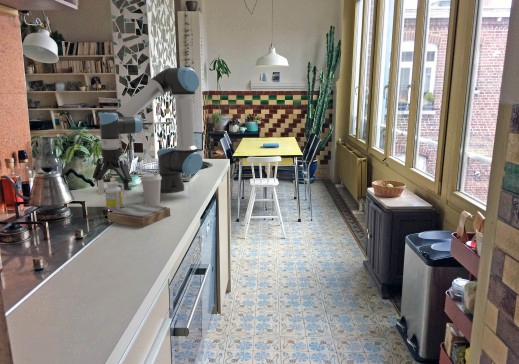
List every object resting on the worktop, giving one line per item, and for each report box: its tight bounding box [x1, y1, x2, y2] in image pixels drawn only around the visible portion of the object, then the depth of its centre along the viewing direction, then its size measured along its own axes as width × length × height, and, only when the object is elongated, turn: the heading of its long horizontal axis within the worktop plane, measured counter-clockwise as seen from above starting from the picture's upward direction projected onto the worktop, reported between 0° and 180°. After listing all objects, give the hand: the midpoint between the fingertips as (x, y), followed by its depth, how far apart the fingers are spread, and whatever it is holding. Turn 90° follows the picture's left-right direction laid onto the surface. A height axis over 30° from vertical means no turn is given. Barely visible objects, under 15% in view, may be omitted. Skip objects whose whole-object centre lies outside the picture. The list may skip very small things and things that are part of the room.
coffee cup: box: [140, 172, 162, 206], centre depth 196 cm, size 10×10×15 cm
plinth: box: [107, 202, 171, 228], centre depth 177 cm, size 18×18×4 cm
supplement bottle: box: [104, 181, 123, 211], centre depth 189 cm, size 7×7×13 cm
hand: (112, 195), depth 188 cm, fingers open, 13 cm apart
